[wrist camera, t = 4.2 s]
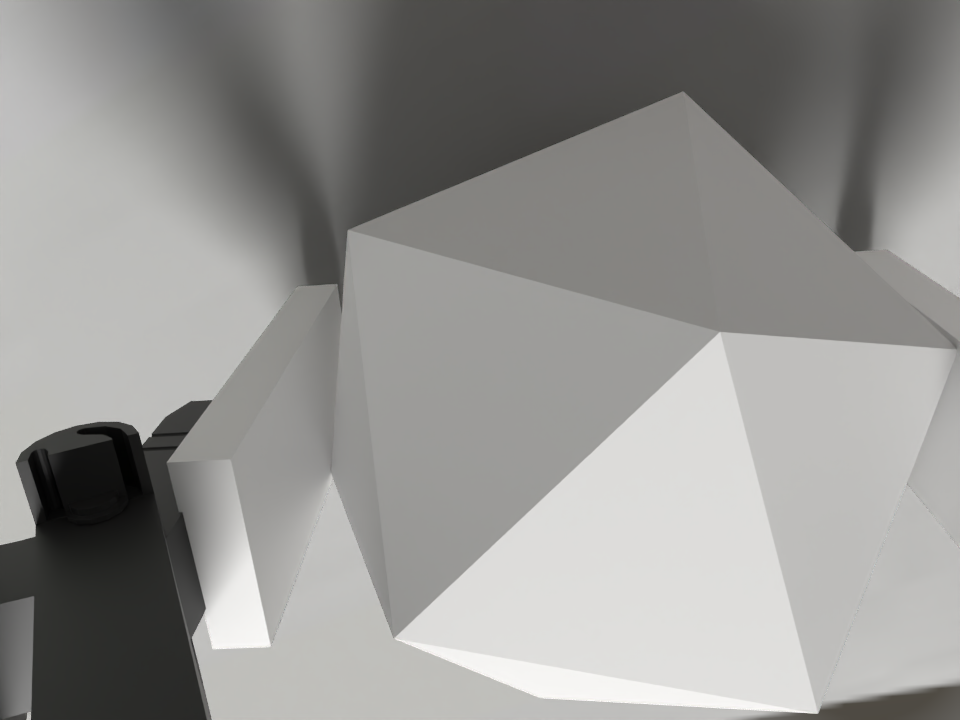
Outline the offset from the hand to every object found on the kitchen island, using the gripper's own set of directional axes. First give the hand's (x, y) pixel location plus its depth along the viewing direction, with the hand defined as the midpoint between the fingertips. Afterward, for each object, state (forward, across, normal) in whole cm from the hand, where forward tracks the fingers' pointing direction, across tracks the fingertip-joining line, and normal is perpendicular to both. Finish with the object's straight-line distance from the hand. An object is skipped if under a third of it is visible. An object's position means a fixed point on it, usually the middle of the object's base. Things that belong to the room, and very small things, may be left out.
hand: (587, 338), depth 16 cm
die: (+1, 0, 0) cm, 1 cm away
